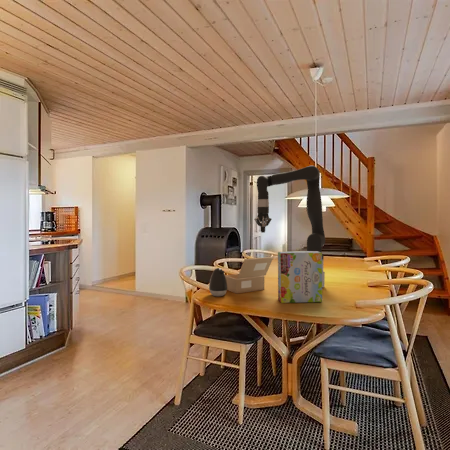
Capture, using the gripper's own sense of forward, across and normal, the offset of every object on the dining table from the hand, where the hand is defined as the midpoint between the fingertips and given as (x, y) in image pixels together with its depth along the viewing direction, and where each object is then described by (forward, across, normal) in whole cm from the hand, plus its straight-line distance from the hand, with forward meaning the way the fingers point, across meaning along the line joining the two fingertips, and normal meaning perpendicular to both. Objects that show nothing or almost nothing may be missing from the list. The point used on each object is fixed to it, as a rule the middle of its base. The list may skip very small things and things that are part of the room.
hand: (263, 232), depth 220 cm
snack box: (+33, -13, -49) cm, 61 cm away
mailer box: (+33, -23, -12) cm, 42 cm away
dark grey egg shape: (+33, -44, -18) cm, 58 cm away
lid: (+18, -23, -23) cm, 38 cm away
